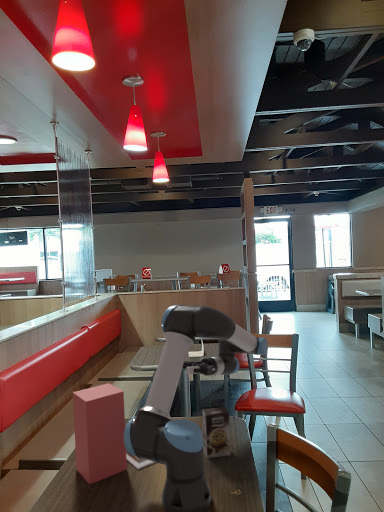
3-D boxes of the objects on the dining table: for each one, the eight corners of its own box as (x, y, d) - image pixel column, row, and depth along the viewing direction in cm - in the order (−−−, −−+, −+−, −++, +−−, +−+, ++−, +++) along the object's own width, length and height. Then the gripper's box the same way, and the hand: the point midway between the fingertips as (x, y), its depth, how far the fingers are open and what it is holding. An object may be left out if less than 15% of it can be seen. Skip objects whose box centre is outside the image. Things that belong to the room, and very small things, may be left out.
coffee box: (207, 458, 147) (205, 415, 147) (203, 450, 153) (201, 408, 153) (231, 455, 149) (229, 412, 149) (226, 447, 155) (224, 406, 155)
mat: (174, 429, 173) (174, 427, 173) (199, 444, 158) (199, 442, 158) (115, 450, 156) (115, 449, 156) (138, 469, 142) (137, 468, 142)
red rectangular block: (112, 456, 152) (108, 383, 151) (126, 469, 142) (123, 391, 142) (76, 469, 143) (72, 392, 143) (89, 484, 134) (85, 401, 133)
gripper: (232, 380, 164) (196, 383, 149) (190, 370, 182) (154, 372, 167) (234, 361, 165) (198, 362, 150) (192, 353, 183) (156, 353, 168)
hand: (175, 367), depth 159 cm, fingers open, 13 cm apart
